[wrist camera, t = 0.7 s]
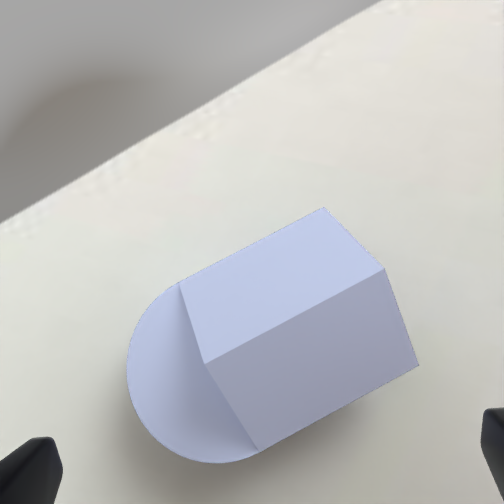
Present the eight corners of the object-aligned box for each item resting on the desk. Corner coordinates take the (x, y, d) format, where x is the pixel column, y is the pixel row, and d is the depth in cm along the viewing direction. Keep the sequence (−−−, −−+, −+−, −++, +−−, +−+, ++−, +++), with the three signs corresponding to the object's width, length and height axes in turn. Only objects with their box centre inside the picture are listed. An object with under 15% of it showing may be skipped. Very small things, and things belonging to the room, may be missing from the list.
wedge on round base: (318, 225, 25) (123, 327, 25) (330, 181, 19) (66, 317, 18) (400, 363, 23) (188, 479, 23) (445, 367, 17) (149, 528, 16)
